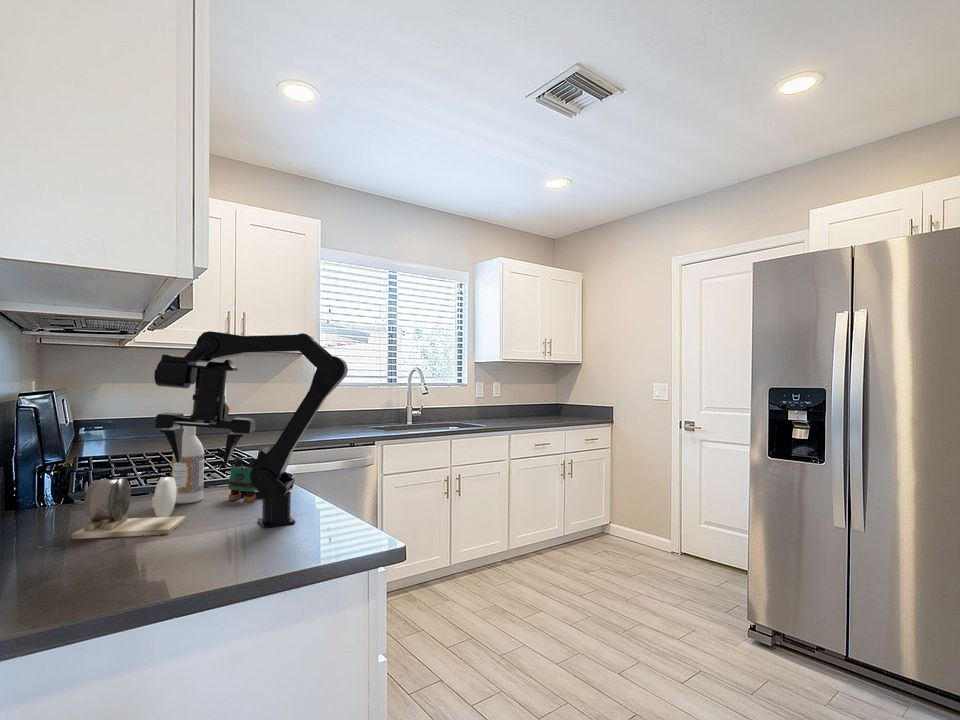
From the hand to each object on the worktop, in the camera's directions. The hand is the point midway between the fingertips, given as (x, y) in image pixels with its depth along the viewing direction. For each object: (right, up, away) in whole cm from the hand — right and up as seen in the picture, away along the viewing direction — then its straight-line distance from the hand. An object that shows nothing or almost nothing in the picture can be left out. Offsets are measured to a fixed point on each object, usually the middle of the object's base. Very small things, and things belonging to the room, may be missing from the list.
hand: (202, 463), depth 113 cm
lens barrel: (-17, -11, -5) cm, 20 cm away
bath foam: (-14, -14, +20) cm, 28 cm away
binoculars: (-1, -14, +25) cm, 29 cm away
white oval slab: (-6, -10, -3) cm, 12 cm away
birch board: (-12, -13, -4) cm, 18 cm away
